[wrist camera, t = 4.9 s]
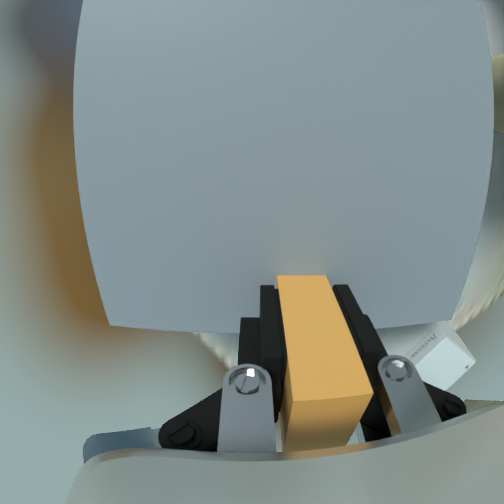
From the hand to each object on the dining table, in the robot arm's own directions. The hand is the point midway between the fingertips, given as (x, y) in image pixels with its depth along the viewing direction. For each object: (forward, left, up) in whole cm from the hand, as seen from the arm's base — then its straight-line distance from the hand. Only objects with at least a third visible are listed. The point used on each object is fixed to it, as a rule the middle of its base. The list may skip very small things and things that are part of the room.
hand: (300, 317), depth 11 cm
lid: (0, -7, -2) cm, 8 cm away
